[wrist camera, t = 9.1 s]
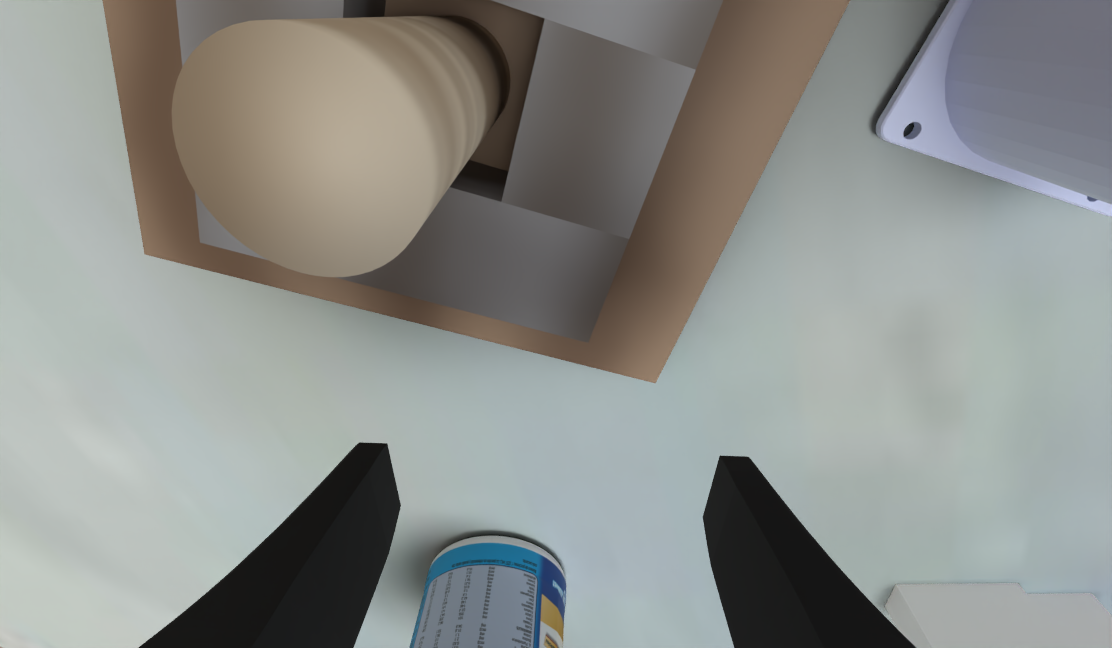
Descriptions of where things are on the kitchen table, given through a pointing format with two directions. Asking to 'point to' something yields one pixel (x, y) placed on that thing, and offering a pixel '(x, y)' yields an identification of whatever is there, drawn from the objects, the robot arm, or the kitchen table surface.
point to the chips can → (492, 597)
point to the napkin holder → (997, 617)
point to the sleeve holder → (528, 164)
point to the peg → (335, 131)
